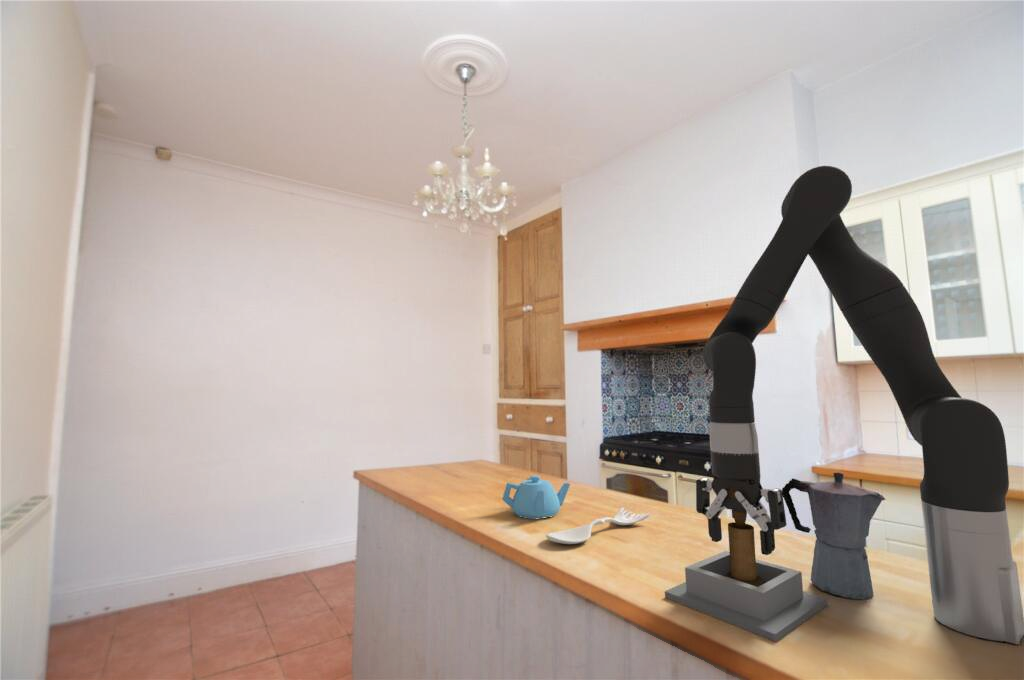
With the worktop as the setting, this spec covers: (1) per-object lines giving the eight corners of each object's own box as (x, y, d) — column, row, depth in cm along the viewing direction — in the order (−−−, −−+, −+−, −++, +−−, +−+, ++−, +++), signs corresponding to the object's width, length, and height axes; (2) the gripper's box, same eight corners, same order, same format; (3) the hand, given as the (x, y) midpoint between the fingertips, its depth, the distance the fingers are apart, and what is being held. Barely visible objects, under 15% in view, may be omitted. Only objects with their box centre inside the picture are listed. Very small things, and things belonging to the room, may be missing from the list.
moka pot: (898, 610, 73) (884, 480, 75) (785, 588, 82) (776, 472, 84) (893, 589, 81) (881, 471, 83) (790, 570, 90) (782, 464, 92)
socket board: (827, 604, 75) (824, 572, 76) (775, 641, 65) (773, 603, 65) (721, 571, 90) (719, 544, 90) (665, 597, 79) (663, 566, 80)
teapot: (530, 505, 145) (529, 469, 146) (572, 512, 136) (571, 474, 137) (499, 515, 133) (498, 477, 135) (542, 524, 124) (541, 482, 125)
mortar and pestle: (773, 605, 73) (764, 488, 75) (729, 602, 75) (721, 487, 77) (759, 587, 80) (751, 480, 82) (719, 585, 81) (712, 479, 83)
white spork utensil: (651, 525, 122) (650, 511, 122) (565, 553, 102) (565, 537, 102) (623, 518, 129) (622, 505, 129) (538, 543, 109) (537, 528, 109)
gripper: (788, 450, 77) (796, 553, 75) (707, 443, 88) (713, 532, 86) (766, 455, 72) (774, 564, 70) (684, 447, 83) (689, 541, 82)
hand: (740, 547), depth 78 cm, fingers open, 8 cm apart
